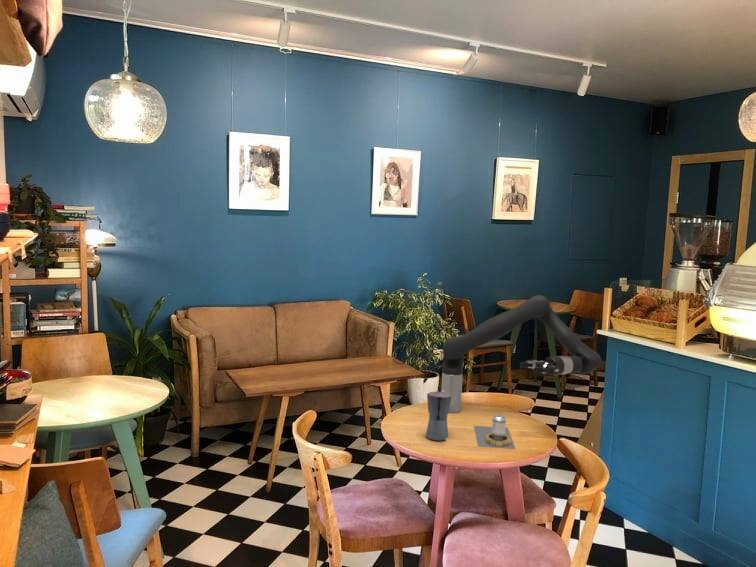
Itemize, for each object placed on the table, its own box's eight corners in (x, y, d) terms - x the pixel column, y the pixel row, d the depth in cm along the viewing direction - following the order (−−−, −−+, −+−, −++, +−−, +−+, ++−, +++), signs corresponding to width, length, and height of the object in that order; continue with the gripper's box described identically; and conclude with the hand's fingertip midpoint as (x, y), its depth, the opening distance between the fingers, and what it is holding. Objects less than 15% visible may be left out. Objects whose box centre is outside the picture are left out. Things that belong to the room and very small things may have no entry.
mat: (477, 449, 222) (477, 446, 222) (473, 427, 246) (473, 425, 246) (515, 451, 221) (515, 449, 221) (507, 430, 245) (507, 427, 244)
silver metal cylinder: (491, 443, 225) (492, 417, 224) (490, 439, 230) (492, 414, 230) (505, 444, 224) (506, 418, 224) (504, 440, 230) (505, 415, 229)
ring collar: (486, 445, 223) (486, 440, 223) (484, 437, 232) (484, 432, 232) (511, 447, 222) (511, 442, 222) (508, 438, 231) (508, 433, 231)
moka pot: (447, 431, 240) (450, 383, 238) (451, 445, 225) (454, 394, 223) (424, 430, 240) (426, 382, 238) (426, 444, 225) (428, 393, 223)
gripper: (547, 352, 248) (516, 355, 242) (571, 360, 235) (539, 362, 229) (546, 370, 249) (515, 373, 242) (570, 378, 236) (538, 381, 229)
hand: (527, 368), depth 236 cm, fingers open, 8 cm apart
